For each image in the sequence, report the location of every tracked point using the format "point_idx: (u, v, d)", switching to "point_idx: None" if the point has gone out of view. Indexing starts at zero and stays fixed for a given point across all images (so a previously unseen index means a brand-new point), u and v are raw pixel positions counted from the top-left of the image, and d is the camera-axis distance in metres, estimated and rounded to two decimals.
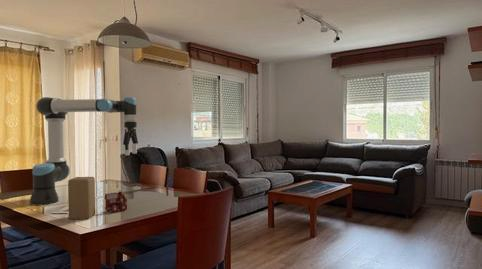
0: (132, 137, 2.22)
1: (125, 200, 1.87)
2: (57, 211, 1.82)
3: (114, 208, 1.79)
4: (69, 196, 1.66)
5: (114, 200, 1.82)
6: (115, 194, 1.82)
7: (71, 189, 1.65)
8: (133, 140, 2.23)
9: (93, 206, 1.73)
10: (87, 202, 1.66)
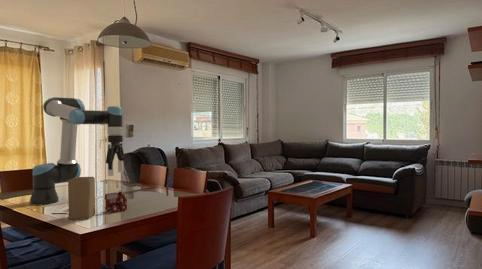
0: (118, 153, 1.87)
1: (125, 200, 1.87)
2: (57, 211, 1.82)
3: (114, 208, 1.79)
4: (69, 196, 1.66)
5: (114, 200, 1.82)
6: (115, 194, 1.82)
7: (71, 189, 1.65)
8: (119, 157, 1.88)
9: (93, 206, 1.73)
10: (87, 202, 1.66)
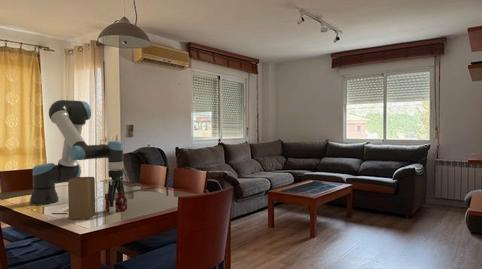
0: (118, 188, 1.86)
1: (125, 200, 1.87)
2: (57, 211, 1.82)
3: None
4: (69, 196, 1.66)
5: None
6: (115, 194, 1.82)
7: (71, 189, 1.65)
8: None
9: (93, 206, 1.73)
10: (87, 202, 1.66)
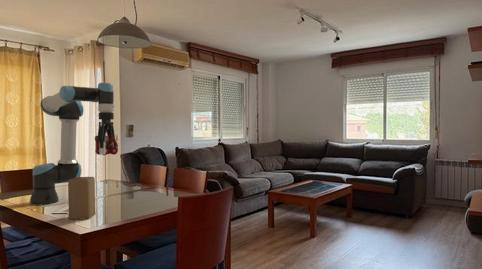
0: (108, 132, 1.82)
1: (116, 144, 1.83)
2: (57, 211, 1.82)
3: None
4: (69, 196, 1.66)
5: None
6: (105, 137, 1.79)
7: (71, 189, 1.65)
8: None
9: (93, 206, 1.73)
10: (87, 202, 1.66)
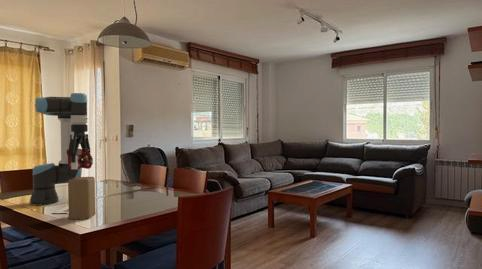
0: (82, 145, 1.73)
1: (90, 158, 1.73)
2: (57, 211, 1.82)
3: (77, 164, 1.66)
4: (69, 196, 1.66)
5: (77, 156, 1.68)
6: (79, 150, 1.69)
7: (71, 189, 1.65)
8: None
9: (93, 206, 1.73)
10: (87, 202, 1.66)
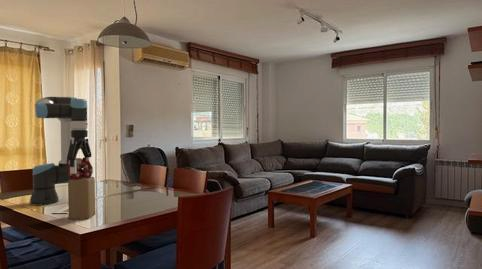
0: (83, 149, 1.74)
1: (90, 167, 1.73)
2: (57, 211, 1.82)
3: (77, 174, 1.66)
4: (69, 196, 1.66)
5: (77, 166, 1.68)
6: (79, 160, 1.69)
7: (71, 189, 1.65)
8: (85, 153, 1.75)
9: (93, 206, 1.73)
10: (87, 202, 1.66)
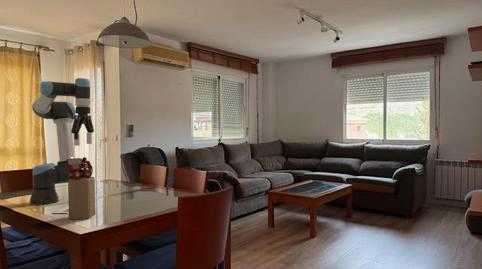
0: (86, 125, 1.91)
1: (90, 167, 1.73)
2: (57, 211, 1.82)
3: (77, 174, 1.66)
4: (69, 196, 1.66)
5: (77, 166, 1.68)
6: (78, 160, 1.69)
7: (71, 189, 1.65)
8: (87, 128, 1.93)
9: (93, 206, 1.73)
10: (87, 202, 1.66)
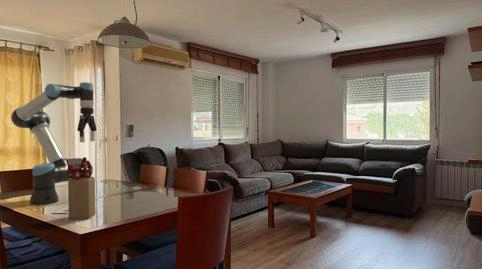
0: (89, 124, 2.14)
1: (90, 167, 1.73)
2: (57, 211, 1.82)
3: (76, 174, 1.66)
4: (69, 196, 1.66)
5: (77, 166, 1.68)
6: (78, 160, 1.69)
7: (71, 189, 1.66)
8: (91, 127, 2.15)
9: (93, 206, 1.73)
10: (87, 202, 1.66)
